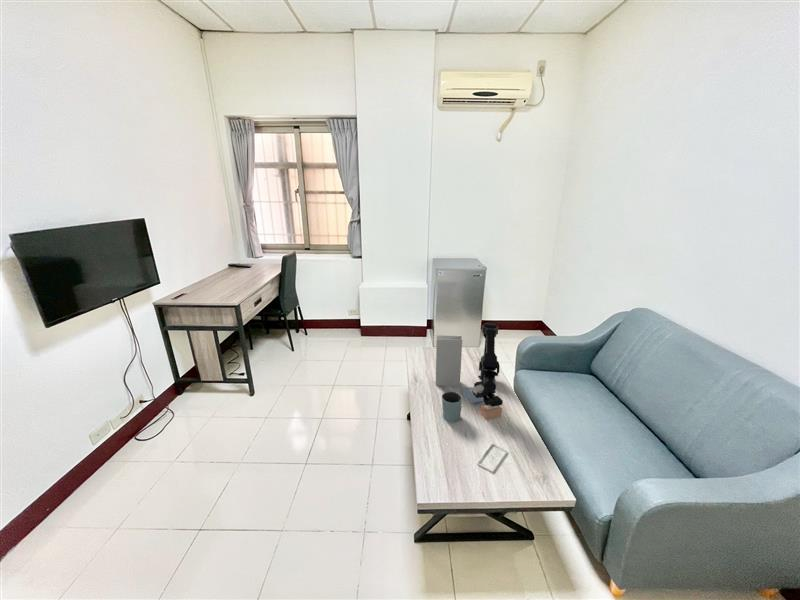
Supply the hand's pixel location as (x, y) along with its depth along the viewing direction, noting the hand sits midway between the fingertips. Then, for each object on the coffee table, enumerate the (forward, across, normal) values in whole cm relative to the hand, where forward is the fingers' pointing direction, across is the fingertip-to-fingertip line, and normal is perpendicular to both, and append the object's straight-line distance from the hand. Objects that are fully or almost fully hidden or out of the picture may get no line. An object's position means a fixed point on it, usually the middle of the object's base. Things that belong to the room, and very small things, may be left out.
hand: (486, 407), depth 173 cm
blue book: (+2, -14, 0) cm, 14 cm away
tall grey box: (+2, -30, -9) cm, 31 cm away
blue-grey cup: (+2, 0, -20) cm, 20 cm away
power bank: (+3, +30, -14) cm, 33 cm away
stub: (+2, +4, 0) cm, 5 cm away
